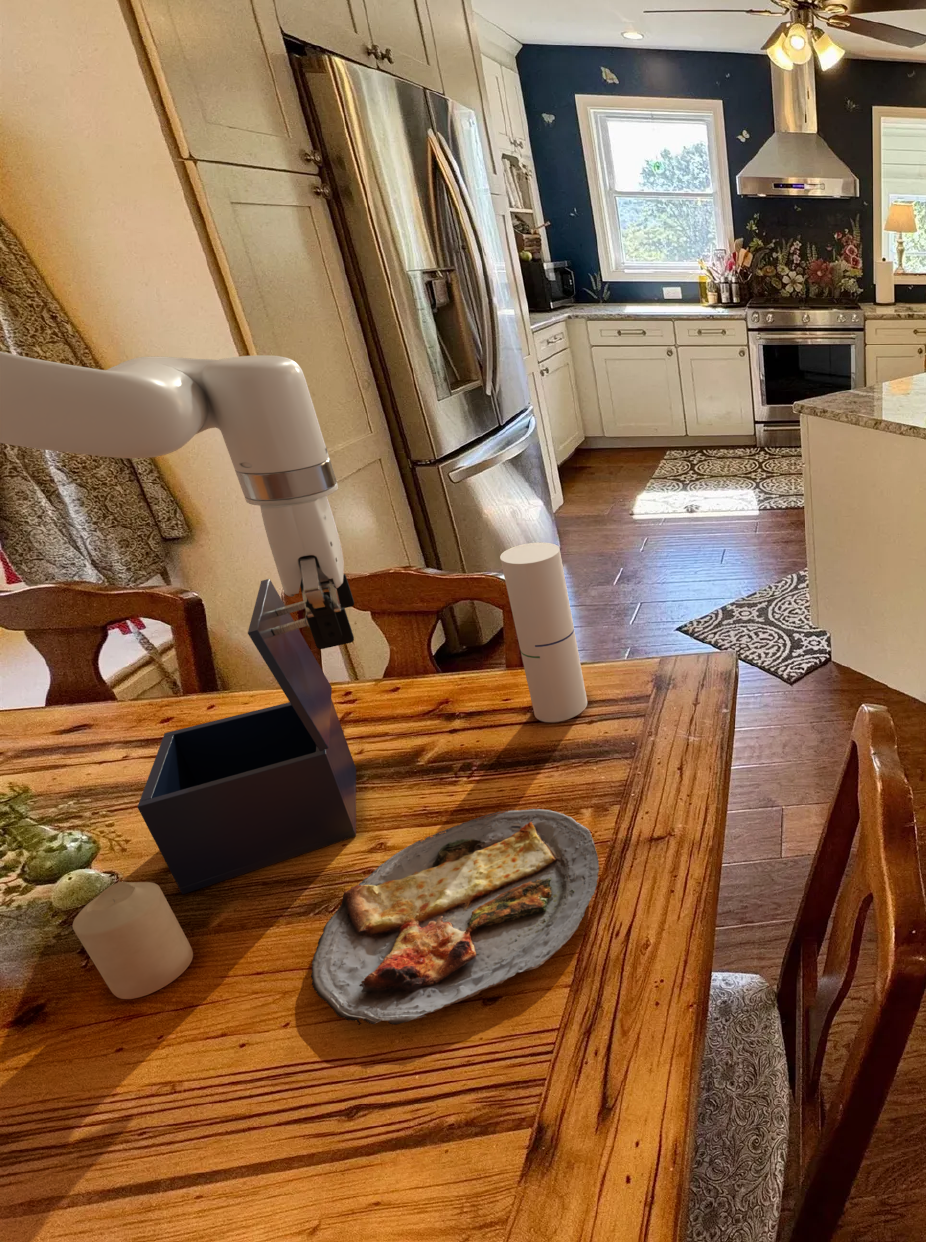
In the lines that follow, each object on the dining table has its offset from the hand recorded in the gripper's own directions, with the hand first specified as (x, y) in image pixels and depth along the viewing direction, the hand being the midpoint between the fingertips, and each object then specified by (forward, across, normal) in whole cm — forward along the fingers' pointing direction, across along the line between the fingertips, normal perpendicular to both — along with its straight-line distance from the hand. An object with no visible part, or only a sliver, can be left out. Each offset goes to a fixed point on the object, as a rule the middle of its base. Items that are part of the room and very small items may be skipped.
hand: (337, 625), depth 82 cm
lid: (+3, 0, -5) cm, 6 cm away
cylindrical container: (+24, -7, +21) cm, 32 cm away
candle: (+24, +17, -19) cm, 35 cm away
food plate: (+24, +26, +6) cm, 36 cm away
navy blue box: (+23, 0, -11) cm, 26 cm away
